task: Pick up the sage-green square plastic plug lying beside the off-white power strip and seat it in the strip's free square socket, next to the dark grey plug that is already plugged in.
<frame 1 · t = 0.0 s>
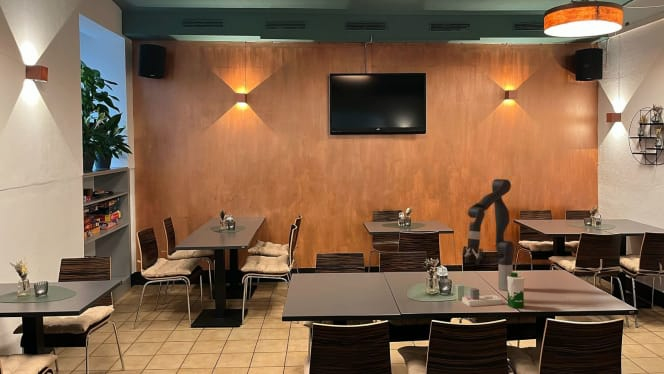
hand: (471, 263, 361), 22 cm above the table, tool pointing down, fingers open, 8 cm apart
milk carton: (515, 306, 341), on the table
power strip: (482, 303, 350), on the table
green plug: (459, 299, 360), on the table
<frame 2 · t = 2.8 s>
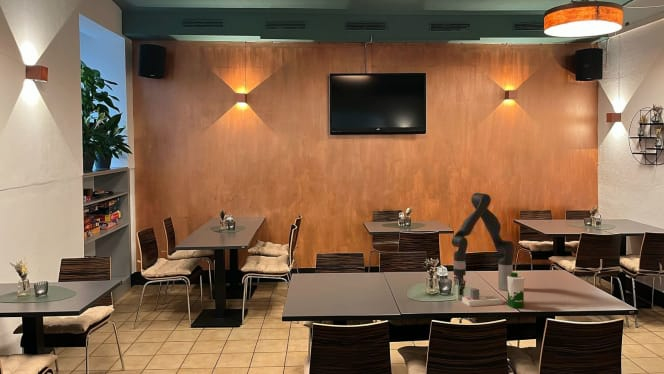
hand: (459, 294, 360), 3 cm above the table, tool pointing down, fingers closed on green plug, 4 cm apart
green plug: (459, 299, 360), on the table, touching gripper
everything else where it was.
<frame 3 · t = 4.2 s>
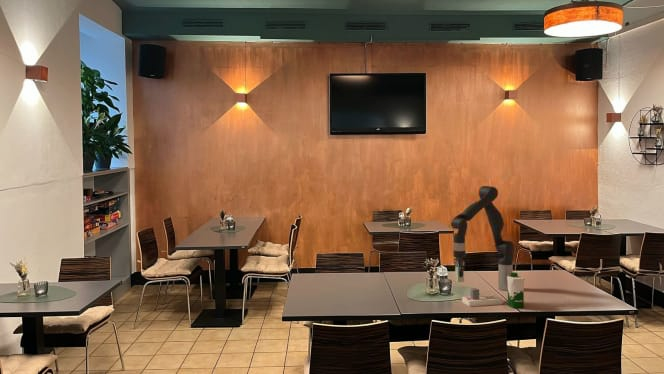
hand: (459, 276, 360), 15 cm above the table, tool pointing down, fingers closed on green plug, 4 cm apart
green plug: (459, 281, 360), point 12 cm above the table, touching gripper
everything else where it was.
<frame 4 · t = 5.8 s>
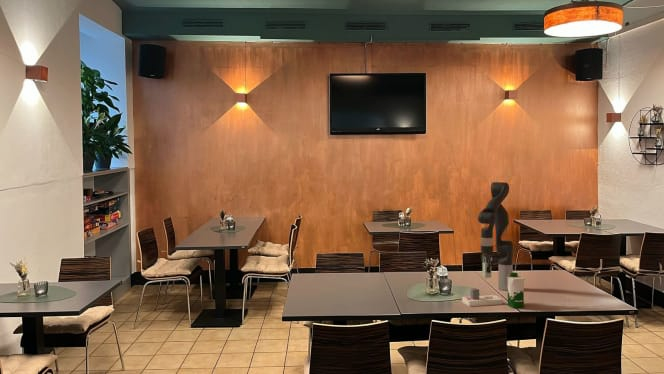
hand: (487, 271, 351), 19 cm above the table, tool pointing down, fingers closed on green plug, 4 cm apart
green plug: (486, 277, 351), point 16 cm above the table, touching gripper
everything else where it was.
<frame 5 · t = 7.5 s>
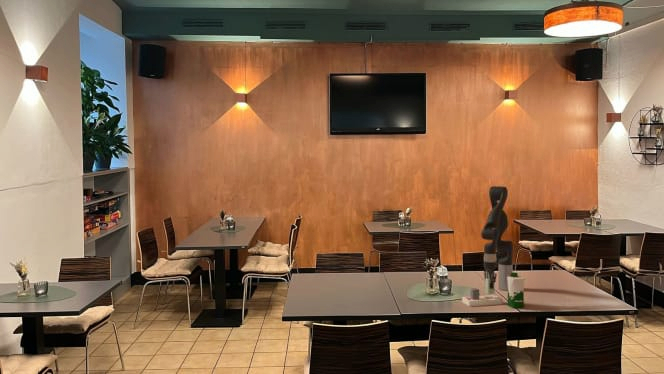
hand: (490, 287, 350), 9 cm above the table, tool pointing down, fingers closed on green plug, 4 cm apart
green plug: (490, 293, 350), point 6 cm above the table, touching gripper
everything else where it was.
when the fingers open (5 cm above the table, at t = 8.7 s): green plug drops 1 cm, resting in power strip.
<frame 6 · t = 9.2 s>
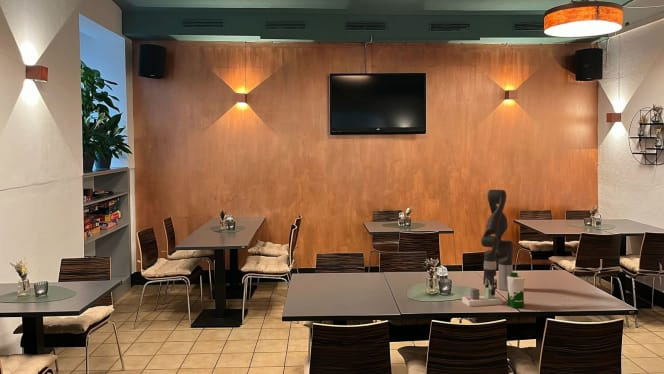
hand: (490, 293, 351), 6 cm above the table, tool pointing down, fingers open, 8 cm apart
green plug: (490, 302, 351), resting in power strip
everything else where it was.
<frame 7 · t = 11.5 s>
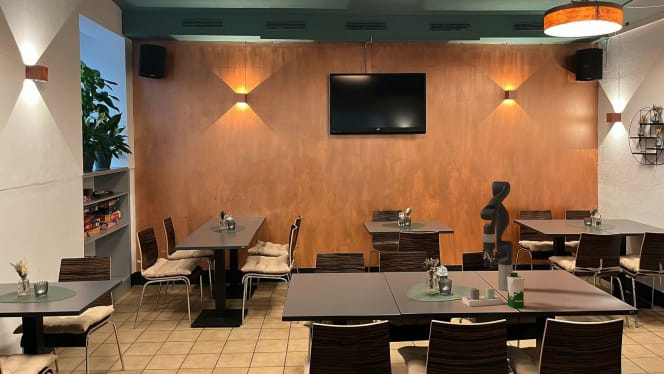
hand: (489, 266, 351), 22 cm above the table, tool pointing down, fingers open, 8 cm apart
nothing on the table moved.
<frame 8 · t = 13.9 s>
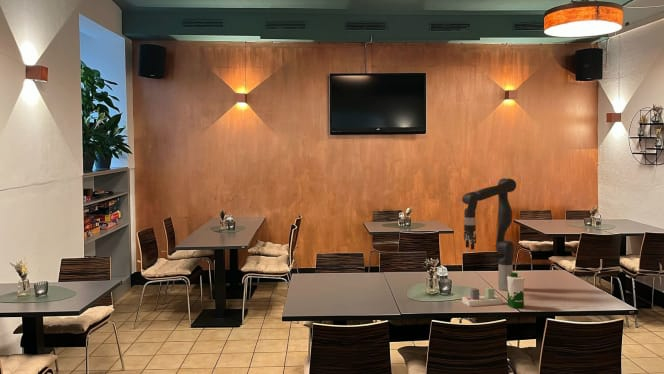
hand: (469, 248, 372), 30 cm above the table, tool pointing down, fingers open, 8 cm apart
nothing on the table moved.
at the end: green plug 0.0 cm from the target spot on the power strip, point 0.0 cm above the power strip's base; green plug tilted 0°; the gripper is holding nothing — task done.
